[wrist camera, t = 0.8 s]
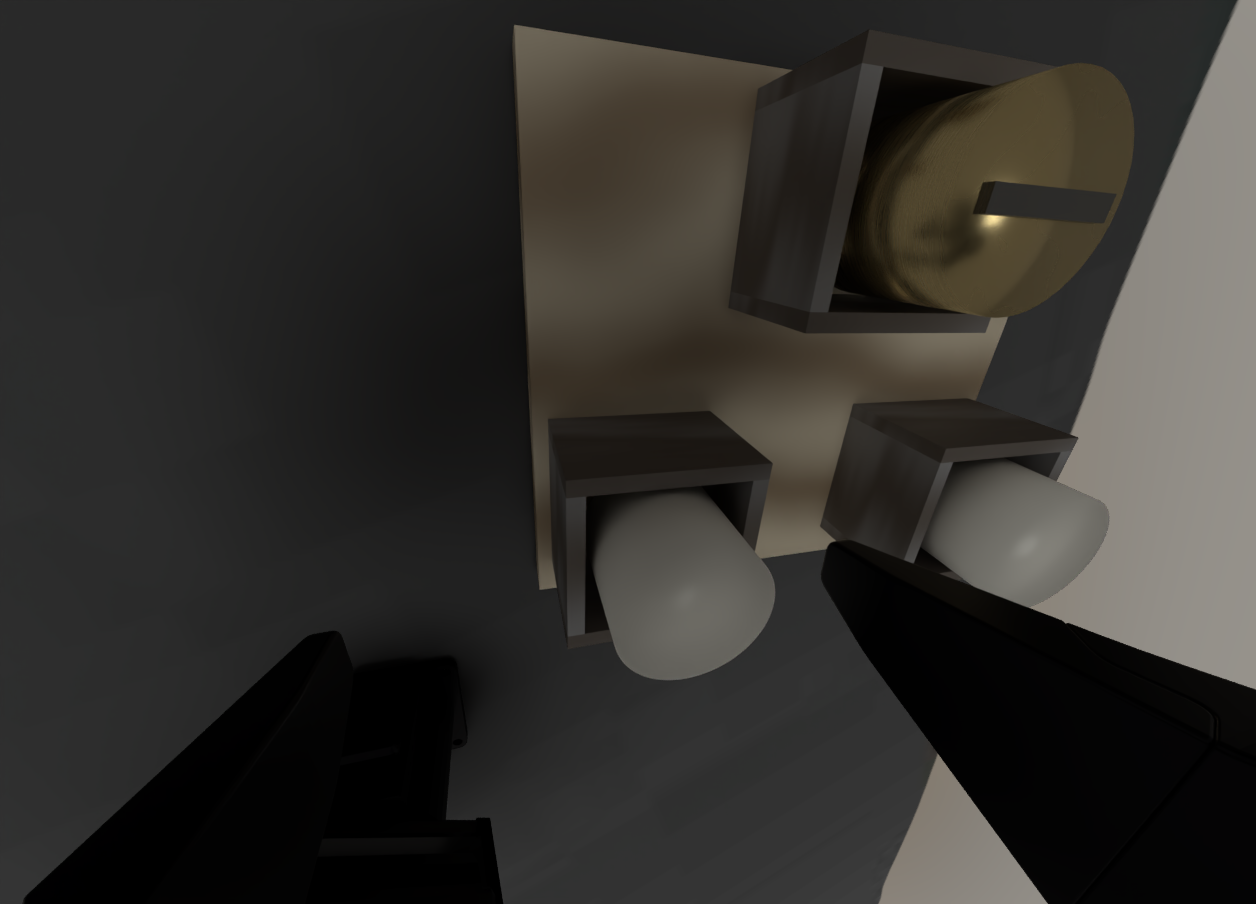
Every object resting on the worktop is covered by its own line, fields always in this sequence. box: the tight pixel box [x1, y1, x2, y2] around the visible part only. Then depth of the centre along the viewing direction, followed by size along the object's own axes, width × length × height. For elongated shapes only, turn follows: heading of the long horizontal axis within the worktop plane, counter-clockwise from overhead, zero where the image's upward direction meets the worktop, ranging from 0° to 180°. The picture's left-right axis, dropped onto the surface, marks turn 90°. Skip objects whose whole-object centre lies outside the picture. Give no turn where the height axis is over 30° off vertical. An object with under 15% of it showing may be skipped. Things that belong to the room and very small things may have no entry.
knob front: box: [586, 486, 775, 680], centre depth 15 cm, size 5×5×5 cm
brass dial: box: [834, 63, 1134, 318], centre depth 12 cm, size 5×5×5 cm
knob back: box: [920, 458, 1109, 607], centre depth 19 cm, size 5×5×5 cm
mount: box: [512, 25, 1078, 649], centre depth 18 cm, size 20×22×6 cm
